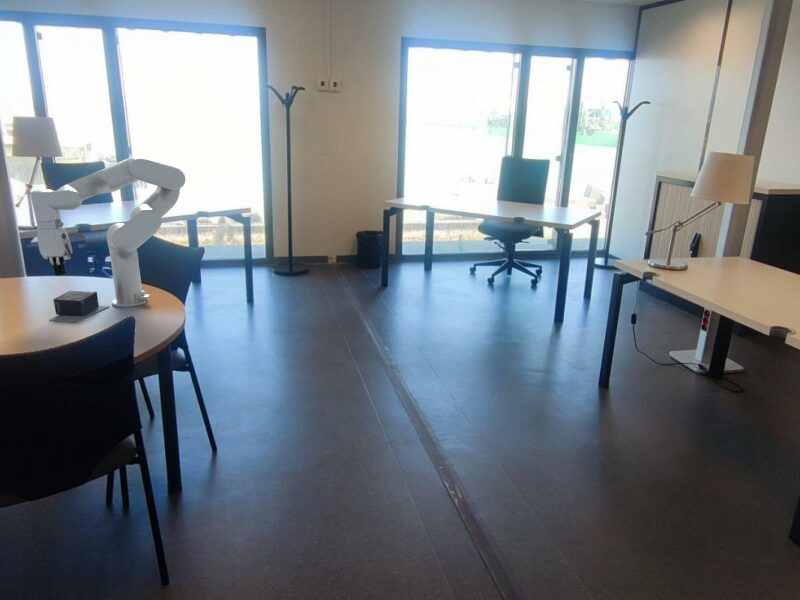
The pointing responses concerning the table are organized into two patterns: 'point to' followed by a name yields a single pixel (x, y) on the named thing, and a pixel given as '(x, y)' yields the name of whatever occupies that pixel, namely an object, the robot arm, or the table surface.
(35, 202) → the robot arm
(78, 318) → the mat
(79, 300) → the small box
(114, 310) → the table surface
